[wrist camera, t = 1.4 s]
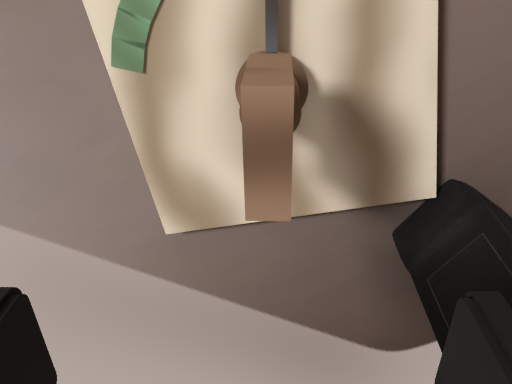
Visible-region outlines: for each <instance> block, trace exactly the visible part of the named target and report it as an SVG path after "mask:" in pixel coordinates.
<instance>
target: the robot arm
mask: <svg viewBox="0 0 512 384" xmlns="http://www.w3.org/2000/svg"><path fill="white" fill-rule="evenodd" d="M56 382H57V374H56V371H55V368H54V366H53V363H52V360H51V357H50V355H49V352H48V350H47V347H46V344H45V341H44V338H43V336H42V333H41V330H40V327H39V325H38V322H37V319H36V317H35V314H34V311H33V308H32V306H31V303H30V301H29V298H28V296H27V295H25V294H22V292H21V291H20V289H18V288H15V287H0V384H56ZM435 384H512V309H511V307H510V306H509V304H508V303H507V301H506V300H505V298H504V297H503V296H502V294H501V293H499V292H497V291H469V292H468V293H467V294H466V296H465V298H459V299H458V301H457V304H456V307H455V311H454V314H453V318H452V321H451V325H450V328H449V332H448V336H447V339H446V343H445V346H444V350H443V353H442V357H441V360H440V364H439V367H438V371H437V374H436V378H435Z"/></svg>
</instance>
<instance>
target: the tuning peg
mask: <svg viewBox="0 0 512 384" xmlns="http://www.w3.org/2000/svg"><path fill="white" fill-rule="evenodd" d="M265 49H266V50H265V51H261V52H258V53H256V54H249V57H248V59H247V60H246V61H245V62H244V64H243V65H242V67H241V68H240V70H239V72H238V75H237V79H236V83H235V93H236V98H237V101H238V103H239V105H240V109H239V115H240V121H241V123H242V144H243V171H244V199H245V221H291V196H292V158H293V132H294V131H295V130H296V128H297V127H298V125H299V123H300V119H301V109H302V107H303V106H304V104H305V102H306V99H307V95H308V80H307V76H306V73H305V70H304V68H303V67H302V65H301V64H300V62H299V61H298V60H297V59H296V58H295V57H293V56H292V55H291V53H289V54H288V53H286V52H283V51H280V50H278V0H265Z"/></svg>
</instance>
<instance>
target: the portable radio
mask: <svg viewBox="0 0 512 384" xmlns="http://www.w3.org/2000/svg"><path fill="white" fill-rule="evenodd" d="M392 235H393V239H394V242H395V245H396V247H397V250H398V252H399V255H400V257H401V259H402V261H403V263H404V265H405V267H406V268H407V270H408V271H409V273H410V274H411V277H412V279H413V282H414V284H415V286H416V289H417V291H418V294H419V296H420V299H421V301H422V304H423V306H424V309H425V311H426V314H427V316H428V319H429V321H430V324H431V326H432V329H433V331H434V334H435V336H436V339H437V341H438V344H439V346H440V348H441V351H442V353H443V350H444V346H445V343H446V339H447V336H448V332H449V328H450V325H451V321H452V318H453V314H454V311H455V307H456V304H457V301H458V299H459V298H465V296H466V294H467V293H468V292H469V291H497V292H499V293H501V294H502V296H503V297H504V298H505V300H506V301H507V303H508V304H509V306H510V307H511V309H512V220H511V218H510V217H509V216H508V215H507V214H506V213H505V212H504V211H503V210H501V209H500V208H499V207H497V206H496V205H495V204H494V203H492V202H491V201H490V200H488V199H487V198H486V197H484V196H483V195H482V194H481V193H479V192H478V191H477V190H475V189H474V188H473V187H471V186H469V185H467V184H465V183H464V182H460V181H456V180H452V179H451V180H448V181H447V182H446V183H444V184H443V185H442V186H441V187H440V188H439V189H438V190H437V191H436V198H428V199H427V200H426V201H425V202H424V203H423V204H422V205H421V206H420V207H419V208H418V209H417V210H416V211H414V212H413V213H412V214H411V215H410V216H409V217H408V218H407V219H406V220H405V221H404V222H403V223H402V224H401V225H399V226H398V227H397V228H396V229H395V230H394V232H393V234H392Z"/></svg>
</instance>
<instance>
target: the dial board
mask: <svg viewBox="0 0 512 384" xmlns="http://www.w3.org/2000/svg"><path fill="white" fill-rule="evenodd" d="M82 1H83V4H84V6H85V9H86V12H87V15H88V18H89V20H90V23H91V26H92V29H93V32H94V34H95V37H96V40H97V43H98V45H99V48H100V51H101V54H102V57H103V59H104V62H105V65H106V68H107V71H108V73H109V76H110V79H111V82H112V85H113V87H114V90H115V93H116V96H117V99H118V101H119V104H120V107H121V110H122V113H123V115H124V118H125V121H126V124H127V126H128V129H129V132H130V135H131V138H132V140H133V143H134V146H135V149H136V152H137V154H138V157H139V160H140V163H141V166H142V168H143V171H144V174H145V177H146V180H147V182H148V185H149V188H150V191H151V194H152V196H153V199H154V202H155V205H156V208H157V210H158V213H159V216H160V219H161V221H162V224H163V227H164V230H165V233H166V234H172V233H179V232H187V231H194V230H201V229H209V228H216V227H223V226H231V225H238V224H245V223H253V222H260V221H245V199H244V171H243V144H242V123H241V121H240V115H239V109H240V105H239V103H238V101H237V98H236V93H235V83H236V79H237V75H238V72H239V70H240V68H241V67H242V65H243V64H244V62H245V61H246V60H247V59H248V57H249V54H256V53H258V52H261V51H265V50H266V49H265V0H82ZM278 50H280V51H283V52H286V53H288V54H289V53H291V55H292V56H293V57H295V58H296V59H297V60H298V61H299V62H300V64H301V65H302V67H303V68H304V70H305V73H306V76H307V80H308V95H307V99H306V102H305V104H304V106H303V107H302V109H301V119H300V123H299V125H298V127H297V128H296V130H295V131H294V132H293V158H292V196H291V217H297V216H304V215H311V214H319V213H326V212H333V211H340V210H348V209H355V208H362V207H370V206H377V205H384V204H392V203H399V202H406V201H414V200H421V199H428V198H436V177H437V70H438V0H278Z"/></svg>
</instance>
